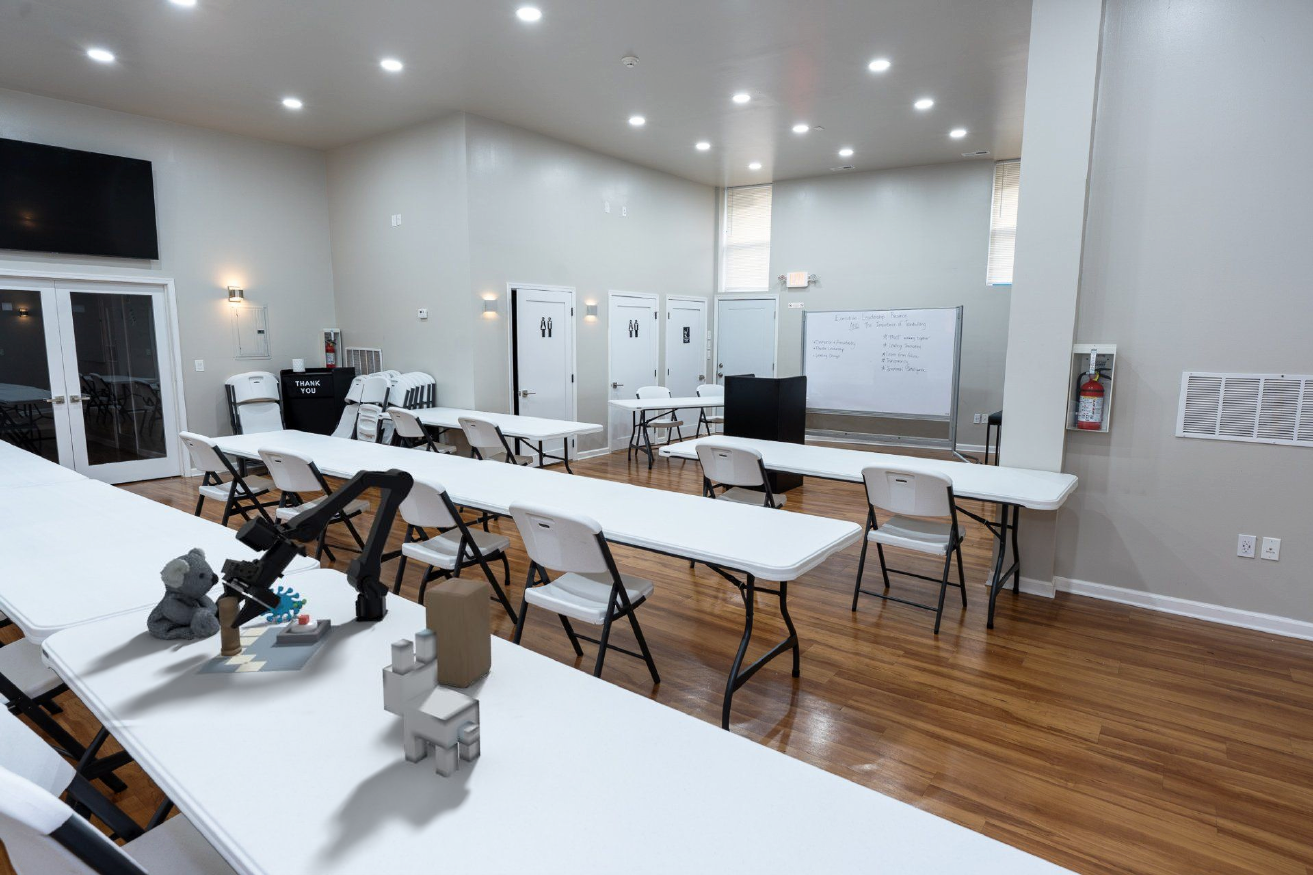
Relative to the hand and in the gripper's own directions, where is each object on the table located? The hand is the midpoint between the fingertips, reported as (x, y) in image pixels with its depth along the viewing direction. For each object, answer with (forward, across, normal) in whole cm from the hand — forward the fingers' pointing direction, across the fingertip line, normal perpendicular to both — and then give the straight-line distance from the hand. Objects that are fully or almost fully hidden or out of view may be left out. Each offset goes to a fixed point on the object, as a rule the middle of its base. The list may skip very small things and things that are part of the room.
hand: (223, 622), depth 151 cm
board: (0, +4, +12) cm, 12 cm away
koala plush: (+6, -24, +6) cm, 26 cm away
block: (-14, +47, +26) cm, 56 cm away
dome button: (-6, +3, +16) cm, 18 cm away
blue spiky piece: (-7, -14, +19) cm, 25 cm away
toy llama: (0, +68, +12) cm, 69 cm away
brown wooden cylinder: (+4, 0, +6) cm, 7 cm away
